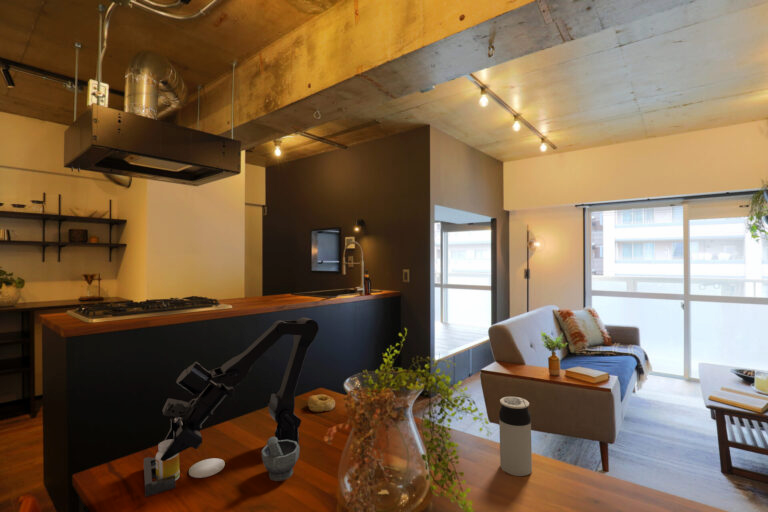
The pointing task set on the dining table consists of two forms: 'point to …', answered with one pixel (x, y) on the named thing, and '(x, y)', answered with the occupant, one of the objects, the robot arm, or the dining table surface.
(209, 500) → the dining table surface
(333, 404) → the bagel
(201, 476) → the coaster
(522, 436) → the travel mug
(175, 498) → the dining table surface
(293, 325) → the robot arm
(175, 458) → the supplement bottle
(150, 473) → the rail
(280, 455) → the mortar and pestle
